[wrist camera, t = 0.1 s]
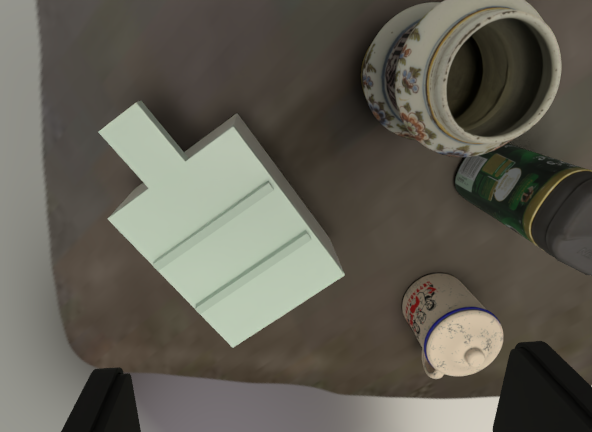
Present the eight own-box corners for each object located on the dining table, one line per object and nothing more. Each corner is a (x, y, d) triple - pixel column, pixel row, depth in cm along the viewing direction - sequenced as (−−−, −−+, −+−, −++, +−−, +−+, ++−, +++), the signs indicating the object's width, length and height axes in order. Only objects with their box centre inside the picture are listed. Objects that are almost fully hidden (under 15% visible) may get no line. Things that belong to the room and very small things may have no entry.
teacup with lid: (413, 264, 52) (454, 318, 41) (477, 276, 54) (533, 332, 43) (383, 341, 56) (414, 410, 45) (443, 351, 58) (487, 419, 47)
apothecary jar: (479, 89, 45) (612, 108, 28) (384, 151, 47) (457, 203, 30) (431, -17, 41) (554, -68, 24) (328, 55, 42) (378, 53, 26)
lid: (60, 162, 36) (51, 167, 34) (188, 64, 34) (184, 64, 32) (233, 341, 44) (232, 353, 42) (343, 270, 42) (346, 279, 40)
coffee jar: (543, 162, 49) (701, 219, 32) (503, 219, 51) (631, 301, 34) (479, 126, 47) (612, 166, 29) (440, 187, 49) (543, 258, 32)
